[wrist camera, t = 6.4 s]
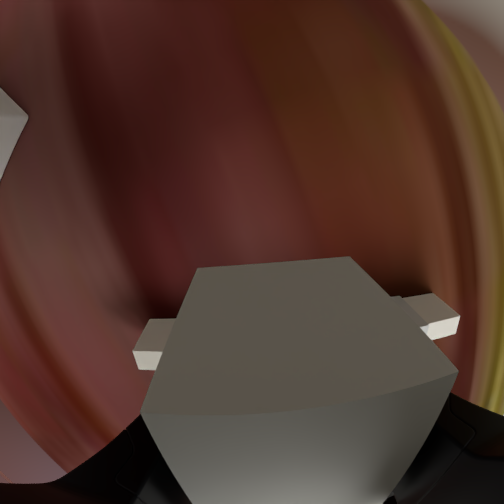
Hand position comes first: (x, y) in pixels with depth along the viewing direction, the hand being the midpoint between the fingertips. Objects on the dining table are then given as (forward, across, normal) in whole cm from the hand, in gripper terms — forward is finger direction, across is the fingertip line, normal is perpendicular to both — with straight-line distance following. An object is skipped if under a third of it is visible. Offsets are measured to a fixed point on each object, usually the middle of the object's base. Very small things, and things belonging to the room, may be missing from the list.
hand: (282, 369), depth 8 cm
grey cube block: (+1, 0, 0) cm, 1 cm away
